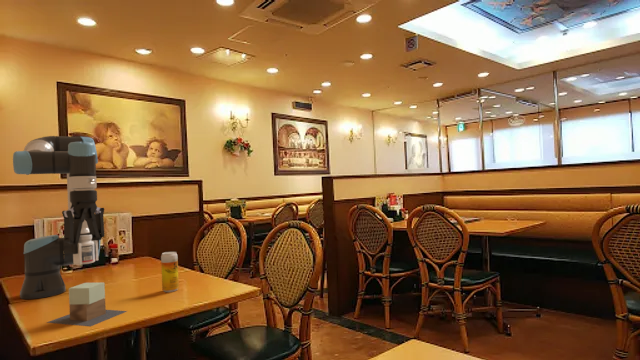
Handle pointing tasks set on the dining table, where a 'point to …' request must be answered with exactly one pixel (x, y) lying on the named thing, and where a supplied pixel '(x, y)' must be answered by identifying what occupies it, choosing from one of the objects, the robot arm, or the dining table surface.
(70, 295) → the block upper
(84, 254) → the pill bottle
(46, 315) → the dining table surface
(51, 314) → the dining table surface
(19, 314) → the dining table surface
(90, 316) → the block lower
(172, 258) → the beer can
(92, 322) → the mat
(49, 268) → the robot arm
